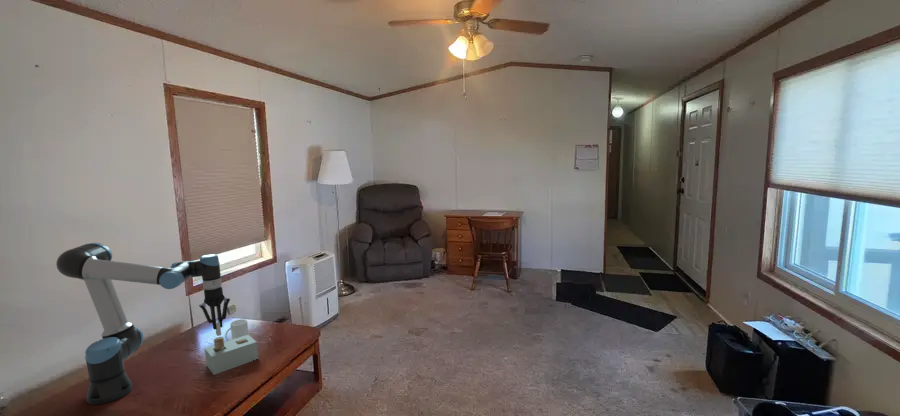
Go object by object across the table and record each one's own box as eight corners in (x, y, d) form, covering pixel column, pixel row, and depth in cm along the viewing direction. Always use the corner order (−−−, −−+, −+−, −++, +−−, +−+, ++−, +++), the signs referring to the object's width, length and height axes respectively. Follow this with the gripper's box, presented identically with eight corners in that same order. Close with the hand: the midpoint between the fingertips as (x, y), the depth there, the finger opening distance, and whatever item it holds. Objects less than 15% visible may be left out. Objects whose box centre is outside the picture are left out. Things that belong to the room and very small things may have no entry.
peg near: (216, 357, 193) (215, 341, 192) (214, 354, 196) (212, 338, 195) (226, 354, 196) (224, 338, 195) (223, 351, 199) (221, 336, 198)
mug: (229, 350, 212) (227, 329, 210) (223, 346, 218) (220, 325, 216) (252, 342, 221) (250, 321, 219) (245, 338, 226) (243, 317, 225)
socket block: (213, 374, 189) (211, 356, 188) (206, 365, 198) (204, 348, 196) (258, 358, 203) (256, 341, 202) (250, 350, 211) (248, 334, 210)
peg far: (240, 358, 201) (238, 343, 200) (237, 355, 203) (236, 340, 202) (249, 355, 203) (247, 340, 202) (246, 353, 206) (244, 338, 205)
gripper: (199, 292, 184) (205, 341, 187) (230, 285, 193) (235, 332, 196) (195, 289, 189) (201, 336, 193) (225, 282, 198) (231, 327, 202)
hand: (218, 334), depth 195 cm, fingers closed
